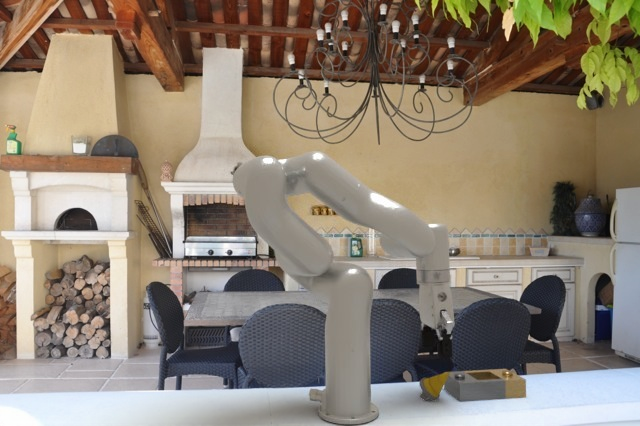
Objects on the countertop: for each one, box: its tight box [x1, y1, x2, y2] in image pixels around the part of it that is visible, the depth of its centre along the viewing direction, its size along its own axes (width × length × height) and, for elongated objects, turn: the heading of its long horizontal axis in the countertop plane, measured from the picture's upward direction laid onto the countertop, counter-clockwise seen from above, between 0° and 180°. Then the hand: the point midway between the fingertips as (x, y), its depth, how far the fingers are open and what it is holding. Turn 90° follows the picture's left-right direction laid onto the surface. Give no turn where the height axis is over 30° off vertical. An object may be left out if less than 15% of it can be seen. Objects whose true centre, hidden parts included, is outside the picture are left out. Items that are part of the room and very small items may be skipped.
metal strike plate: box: [443, 368, 527, 402], centre depth 119 cm, size 16×9×5 cm, turn 99°
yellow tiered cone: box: [419, 371, 451, 402], centre depth 115 cm, size 5×5×10 cm
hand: (436, 351), depth 116 cm, fingers open, 9 cm apart
